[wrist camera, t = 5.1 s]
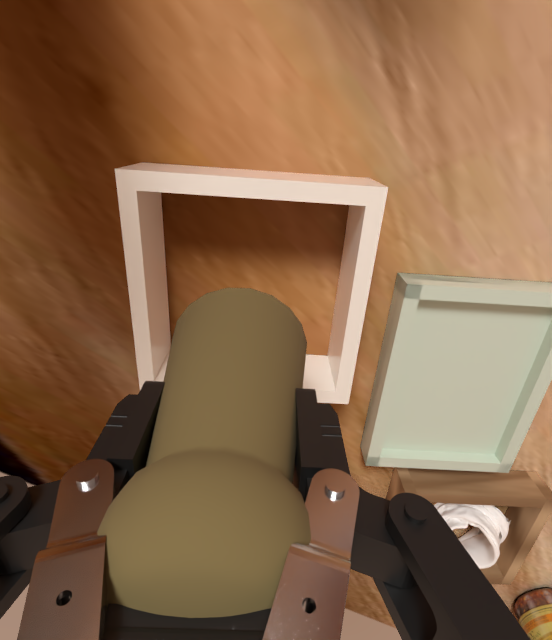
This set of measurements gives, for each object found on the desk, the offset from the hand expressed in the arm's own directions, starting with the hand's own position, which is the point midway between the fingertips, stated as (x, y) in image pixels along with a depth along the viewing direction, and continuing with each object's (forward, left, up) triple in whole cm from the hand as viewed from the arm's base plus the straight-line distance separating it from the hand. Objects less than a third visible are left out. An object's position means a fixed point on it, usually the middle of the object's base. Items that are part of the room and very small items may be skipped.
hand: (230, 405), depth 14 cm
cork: (0, 0, -4) cm, 4 cm away
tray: (+7, +16, -14) cm, 23 cm away
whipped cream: (+24, +21, -15) cm, 35 cm away
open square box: (0, 0, -14) cm, 14 cm away
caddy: (+23, +20, -14) cm, 34 cm away
